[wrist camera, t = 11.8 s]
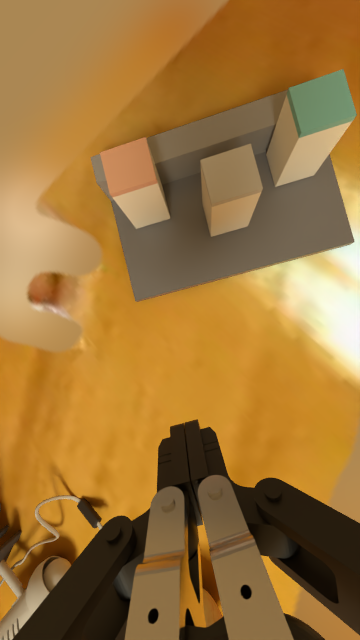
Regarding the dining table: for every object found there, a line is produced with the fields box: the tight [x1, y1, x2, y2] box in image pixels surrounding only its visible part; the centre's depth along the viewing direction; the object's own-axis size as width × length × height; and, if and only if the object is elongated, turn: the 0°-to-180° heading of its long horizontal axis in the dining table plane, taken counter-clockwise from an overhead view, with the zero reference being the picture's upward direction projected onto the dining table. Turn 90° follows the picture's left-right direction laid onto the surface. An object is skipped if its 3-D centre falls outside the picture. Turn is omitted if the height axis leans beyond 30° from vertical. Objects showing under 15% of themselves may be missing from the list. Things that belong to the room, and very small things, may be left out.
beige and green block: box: [266, 69, 357, 187], centre depth 24 cm, size 4×4×8 cm
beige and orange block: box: [100, 137, 170, 229], centre depth 26 cm, size 4×4×8 cm
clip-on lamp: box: [0, 495, 103, 640], centre depth 30 cm, size 12×6×18 cm
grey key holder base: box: [91, 90, 354, 302], centre depth 28 cm, size 26×16×5 cm, turn 104°
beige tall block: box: [200, 144, 263, 237], centre depth 25 cm, size 4×4×8 cm
